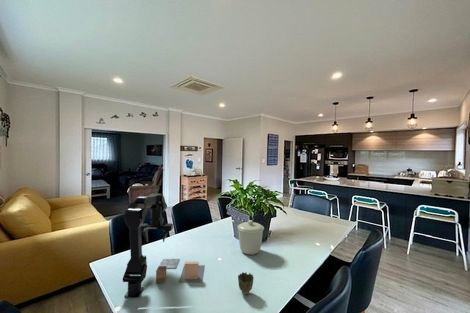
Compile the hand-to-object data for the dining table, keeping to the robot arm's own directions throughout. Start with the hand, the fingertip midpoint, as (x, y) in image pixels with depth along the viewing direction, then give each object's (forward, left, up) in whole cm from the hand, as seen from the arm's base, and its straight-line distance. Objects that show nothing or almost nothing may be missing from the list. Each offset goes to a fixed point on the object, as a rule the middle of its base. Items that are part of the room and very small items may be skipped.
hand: (155, 242), depth 121 cm
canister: (+16, -58, -14) cm, 62 cm away
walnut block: (-16, -8, -14) cm, 22 cm away
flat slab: (-14, -23, -13) cm, 30 cm away
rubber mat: (-10, -23, -14) cm, 29 cm away
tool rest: (0, -8, -14) cm, 16 cm away
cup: (-26, -50, -14) cm, 58 cm away
